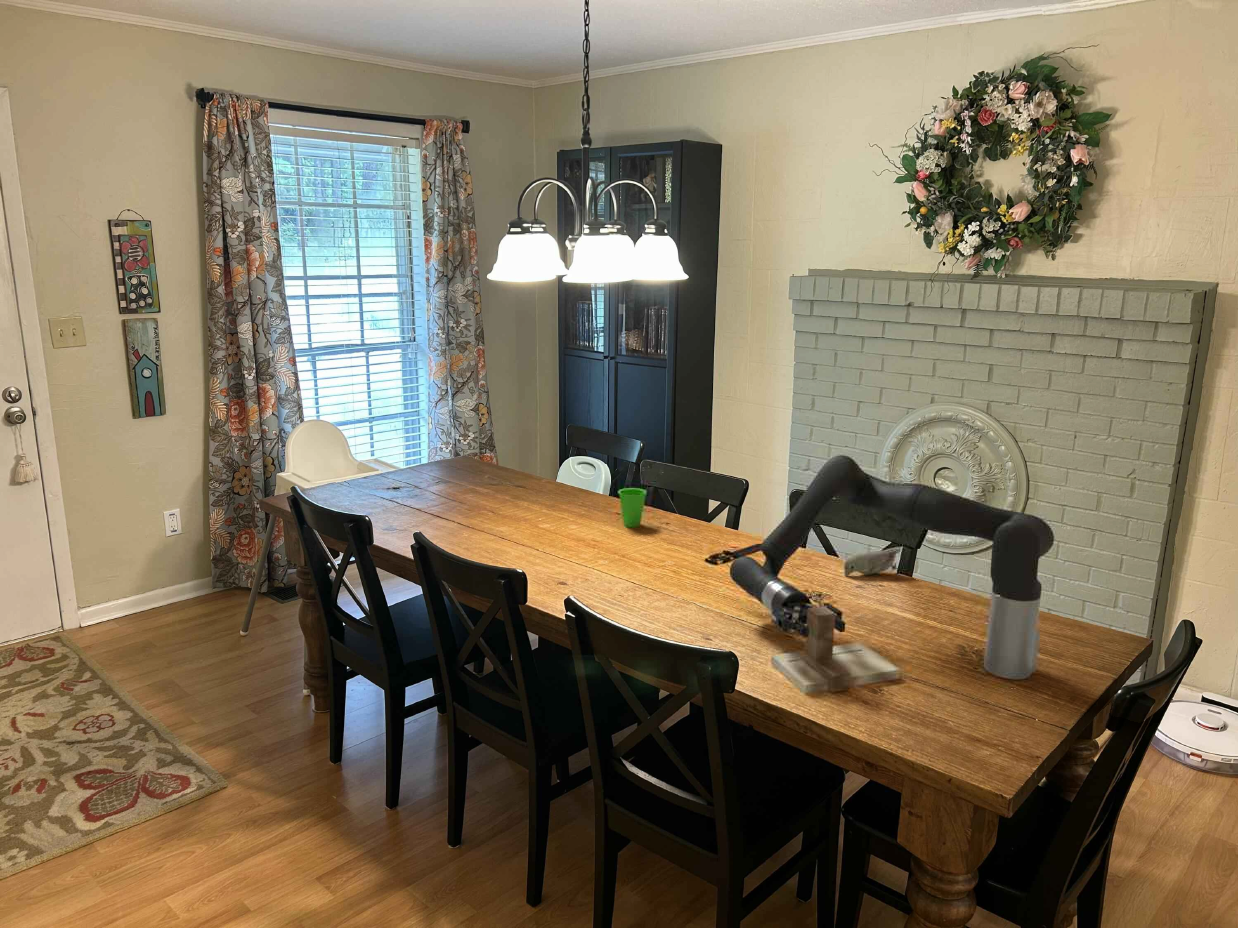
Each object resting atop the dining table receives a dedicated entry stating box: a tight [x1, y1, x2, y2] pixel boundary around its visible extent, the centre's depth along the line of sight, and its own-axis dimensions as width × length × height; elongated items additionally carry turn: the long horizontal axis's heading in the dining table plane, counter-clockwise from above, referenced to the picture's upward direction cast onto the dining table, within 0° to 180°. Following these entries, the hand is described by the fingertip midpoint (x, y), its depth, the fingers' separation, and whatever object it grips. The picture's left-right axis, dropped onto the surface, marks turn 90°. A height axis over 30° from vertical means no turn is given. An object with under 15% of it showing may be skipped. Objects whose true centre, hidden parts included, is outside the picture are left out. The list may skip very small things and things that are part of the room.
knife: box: [704, 543, 762, 566], centre depth 262 cm, size 25×6×1 cm, turn 127°
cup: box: [617, 487, 648, 528], centre depth 287 cm, size 9×9×11 cm
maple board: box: [770, 641, 901, 695], centre depth 190 cm, size 22×14×2 cm, turn 109°
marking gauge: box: [801, 605, 851, 693], centre depth 185 cm, size 4×12×13 cm, turn 19°
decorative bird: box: [843, 546, 902, 577], centre depth 246 cm, size 5×16×8 cm, turn 101°
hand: (825, 630), depth 185 cm, fingers open, 8 cm apart
